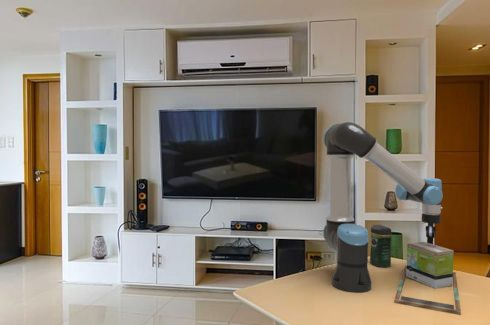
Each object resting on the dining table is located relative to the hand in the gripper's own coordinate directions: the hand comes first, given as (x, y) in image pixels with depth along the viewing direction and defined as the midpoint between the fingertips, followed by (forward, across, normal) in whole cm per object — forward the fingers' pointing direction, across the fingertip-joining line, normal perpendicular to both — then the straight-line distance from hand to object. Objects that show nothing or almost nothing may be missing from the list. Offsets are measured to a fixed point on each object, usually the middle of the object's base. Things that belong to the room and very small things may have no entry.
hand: (429, 266), depth 169 cm
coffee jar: (+3, +2, +21) cm, 21 cm away
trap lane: (+3, -20, 0) cm, 20 cm away
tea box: (+3, -13, 0) cm, 13 cm away
